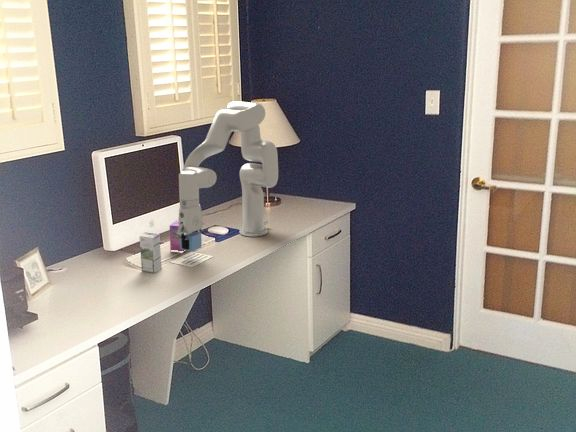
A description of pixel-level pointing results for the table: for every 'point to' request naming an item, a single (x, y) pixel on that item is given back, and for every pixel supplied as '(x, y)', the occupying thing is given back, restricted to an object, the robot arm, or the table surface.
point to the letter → (191, 259)
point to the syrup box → (150, 252)
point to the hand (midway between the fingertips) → (190, 246)
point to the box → (174, 236)
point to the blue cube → (193, 241)
